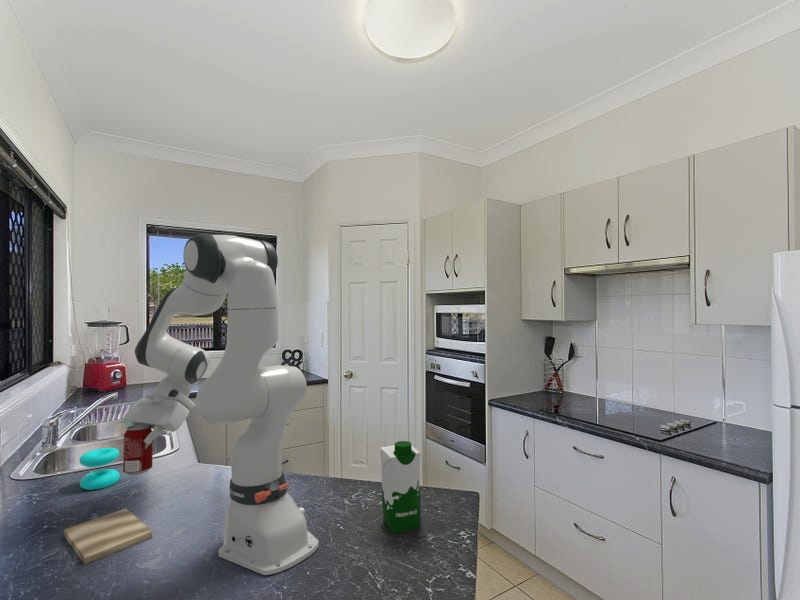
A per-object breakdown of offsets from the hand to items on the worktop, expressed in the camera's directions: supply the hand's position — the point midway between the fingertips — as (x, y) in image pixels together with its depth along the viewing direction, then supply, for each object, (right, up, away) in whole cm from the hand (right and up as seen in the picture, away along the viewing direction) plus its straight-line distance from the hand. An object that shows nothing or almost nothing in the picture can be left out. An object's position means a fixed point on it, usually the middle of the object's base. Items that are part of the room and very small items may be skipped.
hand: (136, 441), depth 115 cm
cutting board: (+2, -18, -14) cm, 23 cm away
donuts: (-21, -19, +16) cm, 32 cm away
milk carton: (+71, -16, -12) cm, 74 cm away
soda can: (0, -8, 0) cm, 8 cm away
